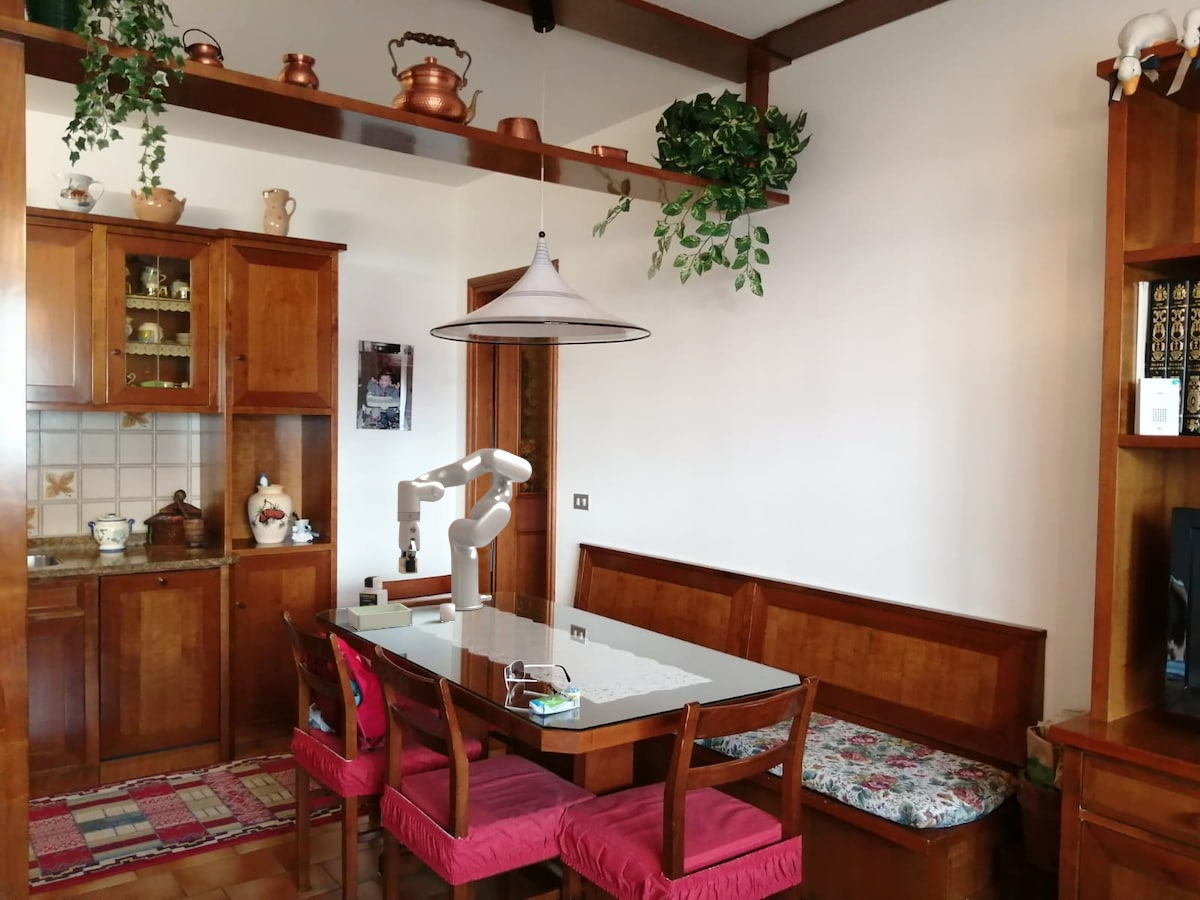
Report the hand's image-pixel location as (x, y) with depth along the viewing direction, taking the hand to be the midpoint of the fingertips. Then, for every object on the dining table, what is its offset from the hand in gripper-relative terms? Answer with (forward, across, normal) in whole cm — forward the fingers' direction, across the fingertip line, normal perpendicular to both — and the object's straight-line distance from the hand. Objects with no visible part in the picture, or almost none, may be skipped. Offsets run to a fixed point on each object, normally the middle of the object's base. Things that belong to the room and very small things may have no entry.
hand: (407, 570), depth 310 cm
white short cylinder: (+16, -12, -10) cm, 22 cm away
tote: (+16, -6, +11) cm, 21 cm away
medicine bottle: (+16, +16, +7) cm, 24 cm away
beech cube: (+1, 0, 0) cm, 1 cm away
